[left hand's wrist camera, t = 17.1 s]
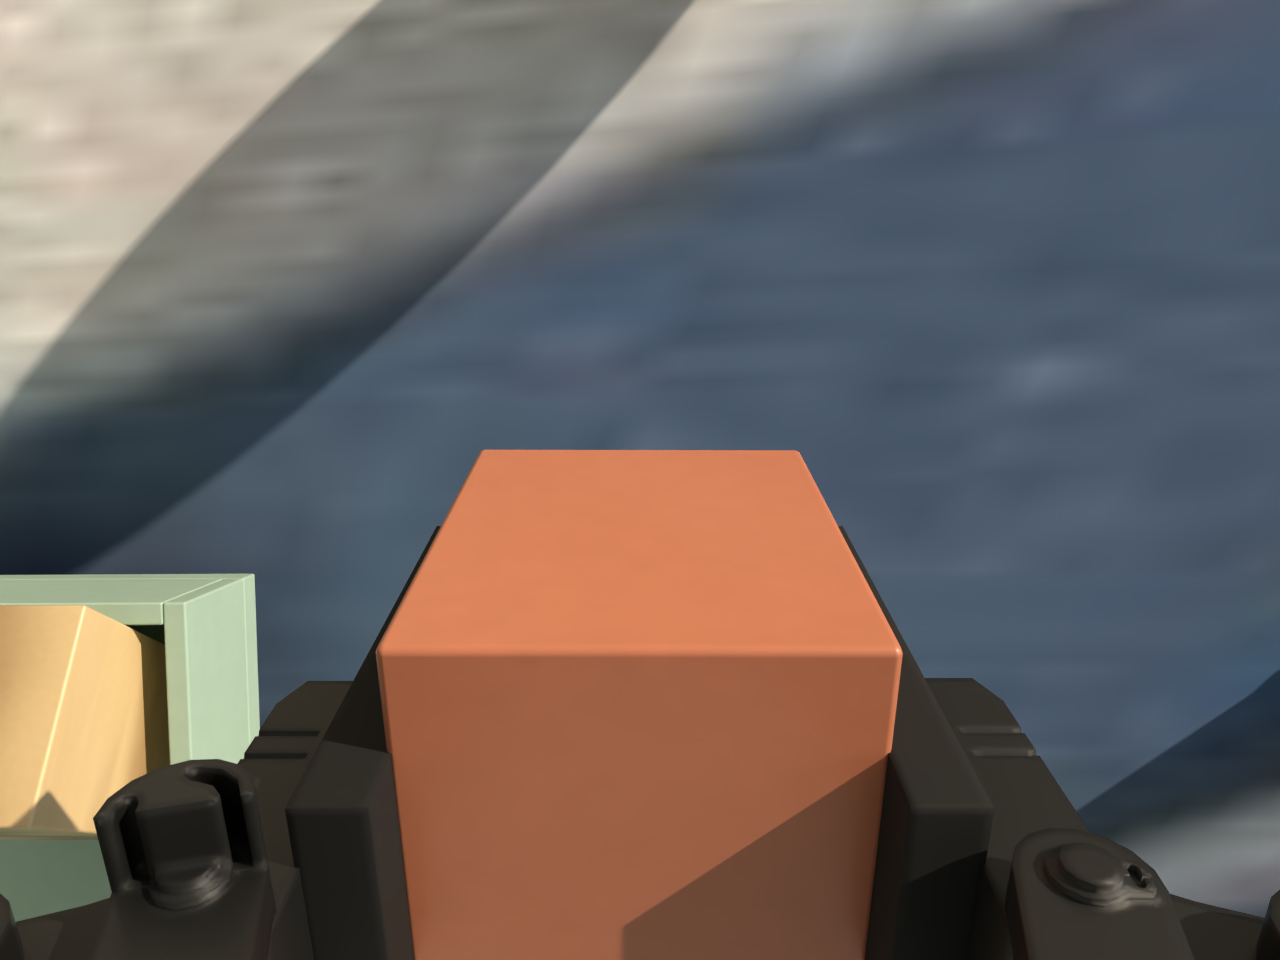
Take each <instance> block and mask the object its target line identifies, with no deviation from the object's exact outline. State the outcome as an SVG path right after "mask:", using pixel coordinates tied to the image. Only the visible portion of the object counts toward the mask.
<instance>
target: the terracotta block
mask: <svg viewBox="0 0 1280 960" xmlns="http://www.w3.org/2000/svg"><path fill="white" fill-rule="evenodd" d="M902 656H903V652H902V649H901V647H900V645H899V643H898V641H897V639H896V637H895V635H894V633H893V631H892V629H891V627H890V625H889V624H888V622H887V620H886V618H885V616H884V614H883V612H882V610H881V608H880V606H879V604H878V602H877V600H876V599H875V597H874V595H873V593H872V591H871V589H870V587H869V585H868V583H867V581H866V579H865V577H864V576H863V574H862V572H861V570H860V568H859V566H858V564H857V562H856V560H855V558H854V556H853V554H852V552H851V551H850V549H849V547H848V545H847V543H846V541H845V539H844V537H843V535H842V533H841V531H840V529H839V528H838V526H837V524H836V522H835V520H834V518H833V516H832V514H831V512H830V510H829V508H828V506H827V504H826V503H825V501H824V499H823V497H822V495H821V493H820V491H819V489H818V487H817V485H816V483H815V481H814V480H813V478H812V476H811V474H810V472H809V470H808V468H807V466H806V464H805V462H804V460H803V458H802V457H801V455H800V453H799V452H797V451H785V450H483V451H481V452H480V453H479V455H478V457H477V459H476V461H475V462H474V464H473V466H472V468H471V470H470V472H469V474H468V476H467V478H466V480H465V481H464V483H463V485H462V487H461V489H460V491H459V493H458V495H457V497H456V498H455V500H454V502H453V504H452V506H451V508H450V510H449V512H448V514H447V516H446V517H445V519H444V521H443V523H442V525H441V527H440V529H439V531H438V533H437V535H436V536H435V538H434V540H433V542H432V544H431V546H430V548H429V550H428V552H427V553H426V555H425V557H424V559H423V561H422V563H421V565H420V567H419V569H418V571H417V572H416V574H415V576H414V578H413V580H412V582H411V584H410V586H409V588H408V590H407V591H406V593H405V595H404V597H403V599H402V601H401V603H400V605H399V607H398V609H397V610H396V612H395V614H394V616H393V618H392V620H391V622H390V624H389V626H388V627H387V629H386V631H385V633H384V635H383V637H382V639H381V641H380V643H379V645H378V647H377V650H376V660H377V669H378V677H379V686H380V695H381V704H382V713H383V721H384V730H385V739H386V748H387V752H388V753H391V758H392V767H393V776H394V785H395V793H396V802H397V811H398V820H399V829H400V837H401V846H402V855H403V864H404V872H405V881H406V890H407V899H408V908H409V916H410V925H411V934H412V943H413V951H414V960H865V953H866V945H867V936H868V927H869V918H870V910H871V901H872V892H873V883H874V875H875V866H876V857H877V848H878V840H879V831H880V822H881V813H882V805H883V796H884V787H885V778H886V770H887V761H888V753H890V752H891V749H892V741H893V733H894V724H895V716H896V707H897V698H898V690H899V681H900V673H901V664H902Z"/></svg>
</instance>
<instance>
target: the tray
mask: <svg viewBox="0 0 1280 960" xmlns="http://www.w3.org/2000/svg"><path fill="white" fill-rule="evenodd" d="M0 605H85V606H87V607H89V608H91V609H93V610H95V611H97V612H99V613H102V614H104V615H106V616H108V617H110V618H112V619H114V620H116V621H118V622H120V623H122V624H124V625H126V626H128V627H130V628H132V629H134V630H136V631H138V632H140V633H142V634H144V635H146V636H148V637H150V638H152V639H154V640H156V641H158V642H160V643H162V644H164V645H165V658H166V681H167V705H168V728H169V752H170V765H172V764H176V763H180V762H184V761H188V760H202V759H220V760H224V761H228V762H232V763H236V764H237V763H238V762H239V760H240V759H244V753H245V751H246V750H247V748H248V747H249V745H250V744H251V742H252V741H253V739H254V738H255V736H259V730H260V720H259V692H258V663H257V635H256V607H255V578H254V574H101V575H0ZM111 893H112V891H111V888H110V884H109V880H108V876H107V872H106V868H105V864H104V860H103V856H102V852H101V848H100V844H99V841H98V840H0V894H1V895H3V896H4V897H5V898H6V899H7V900H8V901H9V903H10V906H11V909H12V912H13V916H14V919H15V922H17V921H21V920H25V919H30V918H34V917H38V916H42V915H47V914H51V913H55V912H59V911H63V910H68V909H72V908H76V907H80V906H85V905H88V904H91V903H94V902H97V901H101V900H104V899H107V898H110V896H111Z"/></svg>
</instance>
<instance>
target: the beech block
mask: <svg viewBox="0 0 1280 960" xmlns="http://www.w3.org/2000/svg"><path fill="white" fill-rule="evenodd" d="M168 765H170V752H169V728H168V705H167V681H166V658H165V645H164V644H162V643H160V642H158V641H156V640H154V639H152V638H150V637H148V636H146V635H144V634H142V633H140V632H138V631H136V630H134V629H132V628H130V627H128V626H126V625H124V624H122V623H120V622H118V621H116V620H114V619H112V618H110V617H108V616H106V615H104V614H102V613H99V612H97V611H95V610H93V609H91V608H89V607H87V606H85V605H0V840H98V837H97V833H96V829H95V825H94V821H93V817H94V816H95V815H96V813H97V812H98V811H99V809H100V808H101V807H102V805H103V804H104V803H105V801H106V800H107V799H108V798H109V797H110V796H112V795H113V794H114V793H116V792H117V791H118V790H120V789H121V788H122V787H124V786H125V785H126V784H128V783H129V782H130V781H132V780H134V779H136V778H138V777H141V776H143V775H145V774H147V773H149V772H151V771H154V770H156V769H158V768H160V767H164V766H168Z"/></svg>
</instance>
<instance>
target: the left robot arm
mask: <svg viewBox="0 0 1280 960" xmlns="http://www.w3.org/2000/svg"><path fill="white" fill-rule="evenodd" d="M440 527H441V526H437V527H436V529H435V531H434V533H433V534H432V536H431V538H430V540H429V542H428V544H427V546H426V547H425V549H424V551H423V553H422V555H421V557H420V559H419V560H418V562H417V564H416V566H415V568H414V570H413V572H412V573H411V575H410V577H409V579H408V581H407V583H406V584H405V586H404V588H403V590H402V592H401V594H400V596H399V597H398V599H397V601H396V603H395V605H394V607H393V609H392V610H391V612H390V614H389V616H388V618H387V620H386V622H385V623H384V625H383V627H382V629H381V631H380V633H379V635H378V636H377V638H376V640H375V642H374V644H373V646H372V647H371V649H370V651H369V653H368V655H367V657H366V659H365V660H364V662H363V664H362V666H361V668H360V670H359V672H358V673H357V675H356V677H355V679H354V681H307V682H306V683H304V684H303V685H302V686H300V687H299V688H298V689H296V690H295V691H294V692H292V693H291V694H289V695H288V696H287V697H285V698H284V699H283V700H281V701H280V702H279V703H277V704H276V706H275V707H274V709H273V710H272V712H271V713H270V715H269V716H268V718H267V719H266V721H265V722H264V724H263V725H262V727H261V728H260V730H259V736H255V738H254V739H253V741H252V742H251V744H250V745H249V747H248V748H247V750H246V751H245V753H244V759H240V760H239V762H238V763H237V764H236V763H232V762H228V761H224V760H220V759H202V760H188V761H184V762H180V763H176V764H172V765H168V766H164V767H160V768H158V769H156V770H154V771H151V772H149V773H147V774H145V775H143V776H141V777H138V778H136V779H134V780H132V781H130V782H129V783H128V784H126V785H125V786H124V787H122V788H121V789H120V790H118V791H117V792H116V793H114V794H113V795H112V796H110V797H109V798H108V799H107V800H106V801H105V803H104V804H103V805H102V807H101V808H100V809H99V811H98V812H97V813H96V815H95V816H94V817H93V821H94V825H95V829H96V833H97V837H98V841H99V844H100V848H101V852H102V856H103V860H104V864H105V868H106V872H107V876H108V880H109V884H110V888H111V891H112V893H111V896H110V898H107V899H104V900H101V901H97V902H94V903H91V904H88V905H85V906H80V907H76V908H72V909H68V910H63V911H59V912H55V913H51V914H47V915H42V916H38V917H34V918H30V919H25V920H21V921H17V922H15V919H14V916H13V912H12V909H11V906H10V903H9V901H8V900H7V899H6V898H5V897H4V896H3V895H1V894H0V960H414V951H413V943H412V934H411V925H410V916H409V908H408V899H407V890H406V881H405V872H404V864H403V855H402V846H401V837H400V829H399V820H398V811H397V802H396V793H395V785H394V776H393V767H392V758H391V753H388V752H387V748H386V739H385V730H384V721H383V713H382V704H381V695H380V686H379V677H378V669H377V660H376V650H377V647H378V645H379V643H380V641H381V639H382V637H383V635H384V633H385V631H386V629H387V627H388V626H389V624H390V622H391V620H392V618H393V616H394V614H395V612H396V610H397V609H398V607H399V605H400V603H401V601H402V599H403V597H404V595H405V593H406V591H407V590H408V588H409V586H410V584H411V582H412V580H413V578H414V576H415V574H416V572H417V571H418V569H419V567H420V565H421V563H422V561H423V559H424V557H425V555H426V553H427V552H428V550H429V548H430V546H431V544H432V542H433V540H434V538H435V536H436V535H437V533H438V531H439V529H440ZM838 528H839V529H840V531H841V533H842V535H843V537H844V539H845V541H846V543H847V545H848V547H849V549H850V551H851V552H852V554H853V556H854V558H855V560H856V562H857V564H858V566H859V568H860V570H861V572H862V574H863V576H864V577H865V579H866V581H867V583H868V585H869V587H870V589H871V591H872V593H873V595H874V597H875V599H876V600H877V602H878V604H879V606H880V608H881V610H882V612H883V614H884V616H885V618H886V620H887V622H888V624H889V625H890V627H891V629H892V631H893V633H894V635H895V637H896V639H897V641H898V643H899V645H900V647H901V649H902V652H903V656H902V664H901V673H900V681H899V690H898V698H897V707H896V716H895V724H894V733H893V741H892V749H891V752H890V753H888V761H887V770H886V778H885V787H884V796H883V805H882V813H881V822H880V831H879V840H878V848H877V857H876V866H875V875H874V883H873V892H872V901H871V910H870V918H869V927H868V936H867V945H866V953H865V960H1280V890H1279V891H1278V892H1277V893H1276V894H1274V895H1273V896H1272V897H1271V900H1270V903H1269V906H1268V910H1267V913H1266V916H1265V918H1262V917H1258V916H1254V915H1249V914H1245V913H1241V912H1237V911H1232V910H1228V909H1224V908H1220V907H1215V906H1211V905H1207V904H1203V903H1198V902H1195V901H1191V900H1188V899H1185V898H1182V897H1178V896H1175V895H1172V894H1169V892H1168V890H1167V889H1166V887H1165V886H1164V884H1163V882H1162V881H1161V879H1160V878H1159V876H1158V875H1157V873H1156V872H1155V870H1154V869H1152V868H1151V867H1150V866H1149V865H1148V864H1147V863H1145V862H1144V861H1143V860H1142V859H1141V858H1139V857H1138V856H1137V855H1136V854H1135V853H1134V852H1132V851H1131V850H1129V849H1127V848H1125V847H1123V846H1121V845H1119V844H1117V843H1115V842H1113V841H1111V840H1109V839H1107V838H1105V837H1103V836H1099V835H1096V834H1092V833H1090V832H1089V830H1088V829H1087V827H1086V826H1085V824H1084V823H1083V821H1082V820H1081V818H1080V817H1079V815H1078V814H1077V812H1076V810H1075V809H1074V807H1073V806H1072V804H1071V803H1070V801H1069V800H1068V798H1067V797H1066V795H1065V794H1064V792H1063V791H1062V789H1061V788H1060V786H1059V785H1058V783H1057V782H1056V780H1055V779H1054V777H1053V776H1052V774H1051V773H1050V771H1049V770H1048V768H1047V767H1046V765H1045V764H1044V762H1043V760H1042V759H1041V757H1040V756H1036V750H1035V748H1034V747H1033V745H1032V744H1031V742H1030V741H1029V739H1028V738H1027V736H1026V735H1025V733H1021V727H1020V726H1019V724H1018V723H1017V721H1016V720H1015V718H1014V717H1013V715H1012V713H1011V712H1010V710H1009V709H1008V707H1007V706H1006V704H1005V703H1004V701H1002V700H1001V699H1000V698H998V697H997V696H996V695H994V694H993V693H992V692H990V691H989V690H987V689H986V688H985V687H983V686H982V685H981V684H979V683H978V682H977V681H975V680H974V679H973V678H924V676H923V675H922V673H921V671H920V669H919V667H918V665H917V663H916V662H915V660H914V658H913V656H912V654H911V652H910V650H909V649H908V647H907V645H906V643H905V641H904V639H903V637H902V636H901V634H900V632H899V630H898V628H897V626H896V624H895V623H894V621H893V619H892V617H891V615H890V613H889V611H888V610H887V608H886V606H885V604H884V602H883V600H882V598H881V597H880V595H879V593H878V591H877V589H876V587H875V586H874V584H873V582H872V580H871V578H870V576H869V574H868V573H867V571H866V569H865V567H864V565H863V563H862V561H861V560H860V558H859V556H858V554H857V552H856V550H855V548H854V547H853V545H852V543H851V541H850V539H849V537H848V535H847V534H846V532H845V530H844V528H843V526H838Z"/></svg>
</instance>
